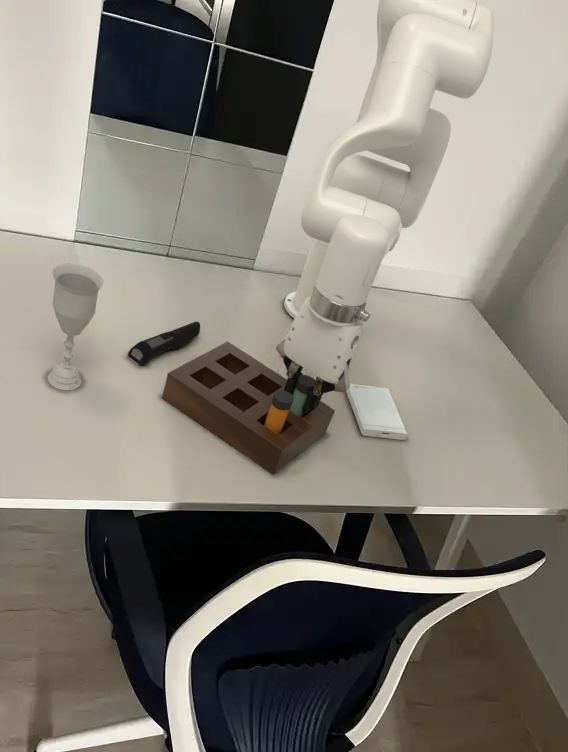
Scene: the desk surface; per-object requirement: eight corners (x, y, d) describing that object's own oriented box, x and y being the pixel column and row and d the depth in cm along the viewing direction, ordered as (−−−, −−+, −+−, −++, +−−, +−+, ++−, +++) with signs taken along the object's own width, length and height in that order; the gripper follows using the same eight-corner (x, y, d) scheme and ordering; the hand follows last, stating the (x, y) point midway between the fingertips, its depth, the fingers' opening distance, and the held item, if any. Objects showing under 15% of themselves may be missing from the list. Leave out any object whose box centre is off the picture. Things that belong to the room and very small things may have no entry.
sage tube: (286, 421, 129) (304, 372, 123) (301, 431, 128) (320, 382, 122) (276, 428, 127) (294, 379, 121) (291, 438, 126) (310, 389, 120)
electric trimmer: (203, 341, 140) (207, 326, 138) (141, 368, 129) (145, 352, 127) (187, 331, 141) (191, 315, 139) (125, 356, 130) (128, 340, 128)
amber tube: (263, 437, 124) (281, 387, 118) (279, 447, 124) (297, 397, 117) (253, 445, 122) (270, 394, 116) (268, 455, 121) (286, 405, 115)
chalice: (97, 387, 122) (113, 285, 111) (60, 399, 118) (73, 295, 106) (68, 361, 125) (81, 259, 114) (31, 372, 121) (41, 268, 109)
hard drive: (347, 382, 140) (364, 428, 131) (389, 388, 142) (409, 433, 133) (344, 390, 141) (361, 435, 132) (386, 395, 143) (405, 440, 134)
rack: (220, 365, 136) (227, 341, 133) (325, 433, 130) (335, 410, 126) (161, 398, 125) (167, 372, 122) (273, 475, 118) (282, 450, 115)
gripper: (396, 323, 113) (353, 421, 124) (304, 269, 117) (270, 368, 129) (372, 340, 107) (329, 440, 119) (276, 282, 112) (244, 385, 124)
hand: (299, 402), depth 124 cm, fingers closed on sage tube, 3 cm apart
